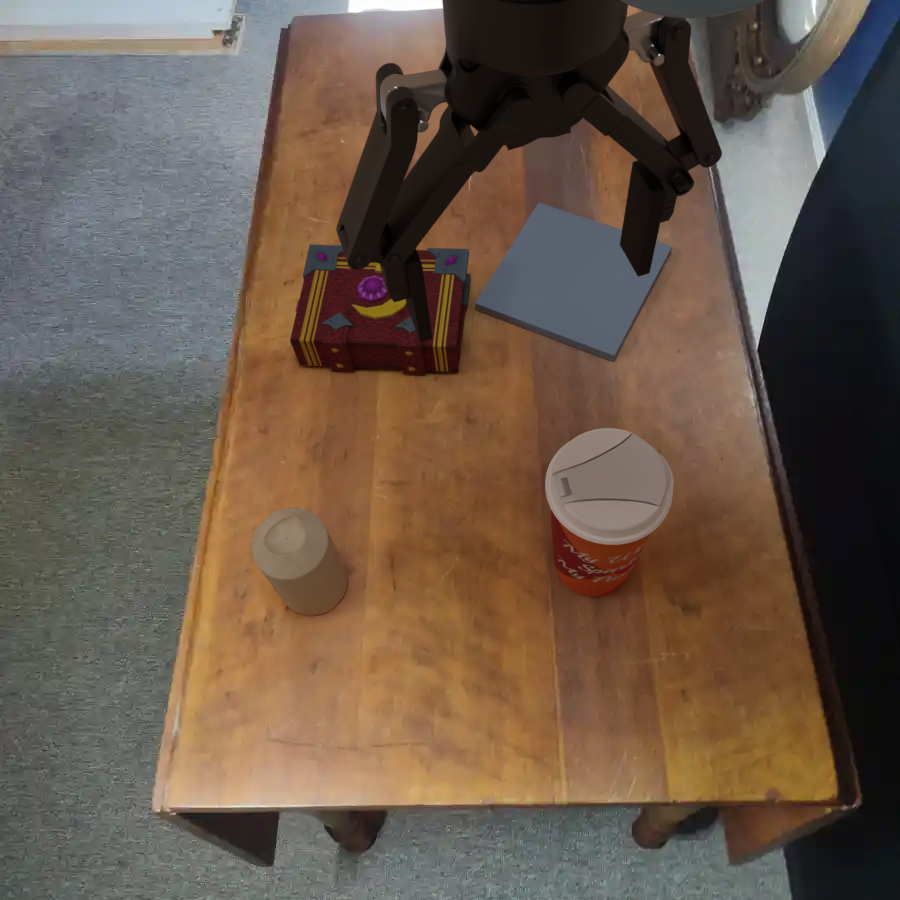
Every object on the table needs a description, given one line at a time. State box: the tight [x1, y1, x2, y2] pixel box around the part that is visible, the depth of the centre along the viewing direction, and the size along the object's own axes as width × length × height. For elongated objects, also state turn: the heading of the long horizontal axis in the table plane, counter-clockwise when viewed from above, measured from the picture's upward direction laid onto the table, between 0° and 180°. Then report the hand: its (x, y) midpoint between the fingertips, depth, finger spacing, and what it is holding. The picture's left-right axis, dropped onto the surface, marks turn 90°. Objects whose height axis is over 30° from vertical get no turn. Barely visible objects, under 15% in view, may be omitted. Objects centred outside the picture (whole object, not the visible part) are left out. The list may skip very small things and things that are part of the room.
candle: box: [251, 507, 348, 617], centre depth 63 cm, size 6×6×10 cm
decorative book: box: [289, 243, 472, 376], centre depth 78 cm, size 11×16×5 cm
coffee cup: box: [544, 427, 675, 598], centre depth 60 cm, size 8×8×15 cm
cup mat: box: [474, 202, 673, 363], centre depth 80 cm, size 14×14×1 cm
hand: (528, 291), depth 50 cm, fingers open, 13 cm apart
